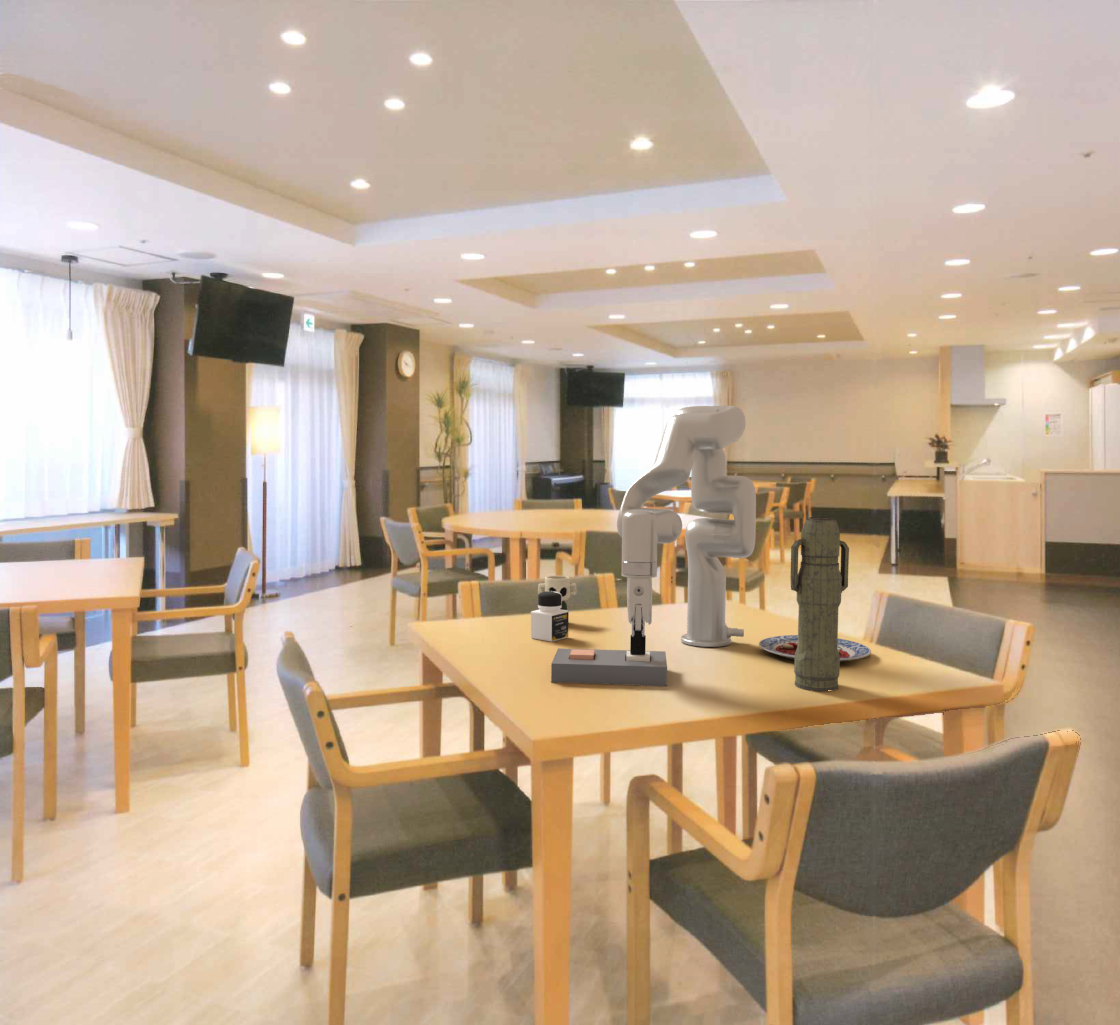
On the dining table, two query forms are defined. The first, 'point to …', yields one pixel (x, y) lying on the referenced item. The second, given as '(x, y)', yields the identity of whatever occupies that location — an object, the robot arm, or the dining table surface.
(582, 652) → the terracotta key
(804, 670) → the thermos
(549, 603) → the medicine bottle
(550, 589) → the character mug
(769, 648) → the ceramic plate
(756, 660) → the dining table surface
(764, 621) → the dining table surface
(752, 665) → the dining table surface
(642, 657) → the ivory key
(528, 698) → the dining table surface
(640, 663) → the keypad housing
